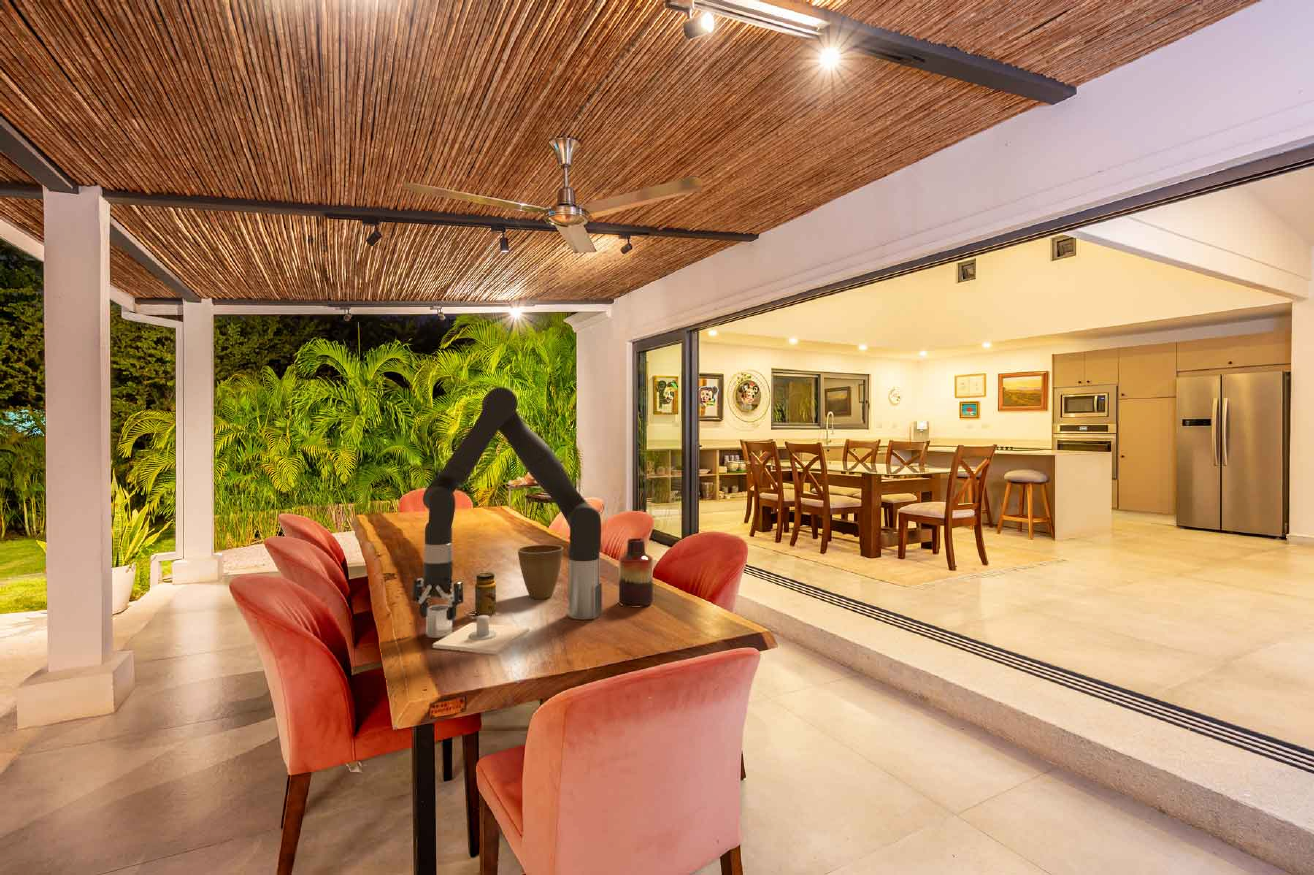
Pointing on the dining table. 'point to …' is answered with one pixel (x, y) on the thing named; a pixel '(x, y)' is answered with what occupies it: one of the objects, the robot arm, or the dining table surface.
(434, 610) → the collar
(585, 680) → the dining table surface
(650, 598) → the vase
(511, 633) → the duct flange
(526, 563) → the plant pot
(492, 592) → the condiment
